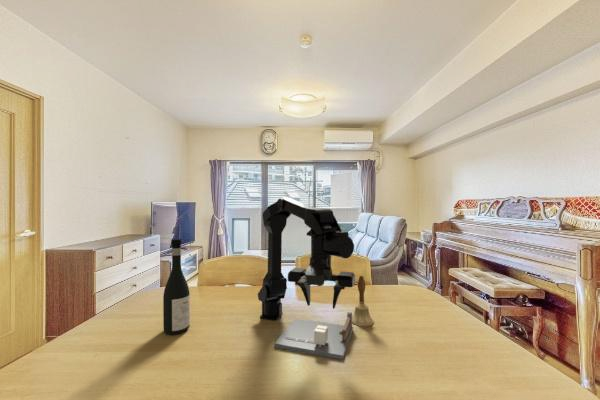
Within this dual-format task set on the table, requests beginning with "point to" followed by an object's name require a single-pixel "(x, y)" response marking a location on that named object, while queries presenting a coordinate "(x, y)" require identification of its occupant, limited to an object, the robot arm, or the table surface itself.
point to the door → (346, 329)
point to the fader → (320, 335)
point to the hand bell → (361, 308)
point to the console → (302, 339)
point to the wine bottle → (176, 296)
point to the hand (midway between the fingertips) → (321, 306)
